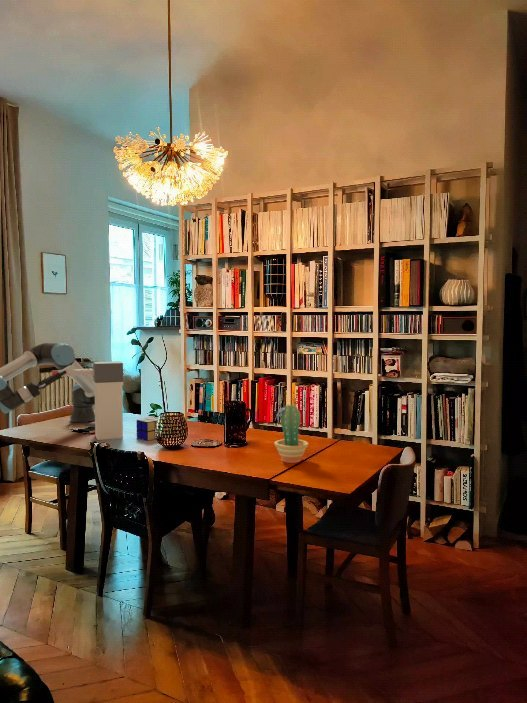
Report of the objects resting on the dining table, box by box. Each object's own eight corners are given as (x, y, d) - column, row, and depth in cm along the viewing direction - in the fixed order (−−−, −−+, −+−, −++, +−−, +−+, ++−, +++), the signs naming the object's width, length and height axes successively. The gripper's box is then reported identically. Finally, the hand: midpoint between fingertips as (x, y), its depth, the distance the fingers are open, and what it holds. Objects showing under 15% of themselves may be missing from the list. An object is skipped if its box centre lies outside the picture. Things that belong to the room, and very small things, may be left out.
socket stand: (96, 440, 280) (95, 363, 278) (94, 434, 293) (93, 361, 291) (124, 438, 285) (123, 363, 283) (120, 433, 298) (119, 361, 296)
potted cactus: (285, 454, 254) (286, 401, 253) (314, 459, 245) (315, 404, 244) (267, 461, 242) (267, 405, 240) (296, 466, 233) (297, 409, 231)
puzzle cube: (136, 438, 286) (136, 419, 285) (152, 435, 293) (151, 417, 293) (147, 441, 279) (147, 422, 279) (163, 438, 286) (162, 419, 286)
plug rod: (51, 376, 275) (51, 370, 275) (51, 376, 278) (51, 370, 278) (102, 375, 285) (102, 369, 284) (102, 374, 287) (101, 368, 287)
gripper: (34, 395, 281) (74, 372, 288) (33, 400, 267) (76, 375, 273) (26, 383, 280) (67, 360, 287) (24, 387, 265) (68, 362, 272)
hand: (71, 367), depth 280 cm, fingers closed on plug rod, 3 cm apart
